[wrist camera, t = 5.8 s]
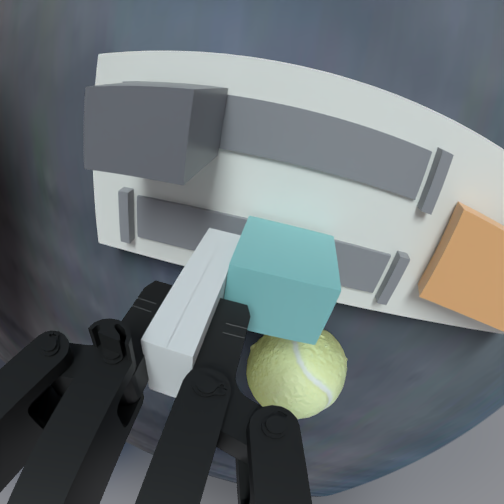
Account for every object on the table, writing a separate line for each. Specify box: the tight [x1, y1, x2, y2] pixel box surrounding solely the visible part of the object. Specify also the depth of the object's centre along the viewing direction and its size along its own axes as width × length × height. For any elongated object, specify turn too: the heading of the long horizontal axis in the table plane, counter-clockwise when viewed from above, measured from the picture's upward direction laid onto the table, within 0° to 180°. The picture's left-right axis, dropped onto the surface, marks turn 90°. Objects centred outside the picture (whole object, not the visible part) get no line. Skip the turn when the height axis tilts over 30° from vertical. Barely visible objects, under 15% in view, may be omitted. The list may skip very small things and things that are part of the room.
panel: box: [93, 51, 504, 334], centre depth 13 cm, size 30×11×3 cm, turn 80°
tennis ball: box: [246, 329, 347, 419], centre depth 18 cm, size 6×7×7 cm
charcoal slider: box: [84, 81, 228, 185], centre depth 10 cm, size 4×3×4 cm
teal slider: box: [224, 216, 341, 345], centre depth 12 cm, size 4×3×4 cm
